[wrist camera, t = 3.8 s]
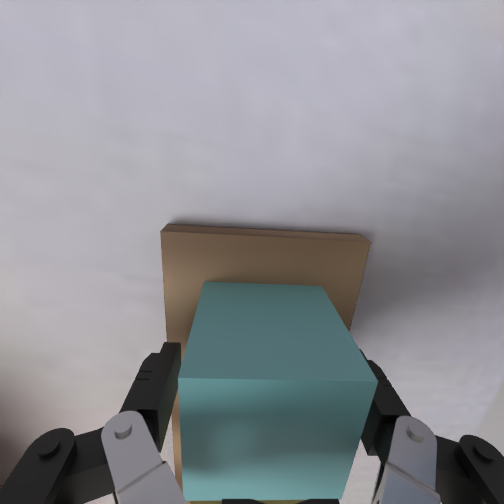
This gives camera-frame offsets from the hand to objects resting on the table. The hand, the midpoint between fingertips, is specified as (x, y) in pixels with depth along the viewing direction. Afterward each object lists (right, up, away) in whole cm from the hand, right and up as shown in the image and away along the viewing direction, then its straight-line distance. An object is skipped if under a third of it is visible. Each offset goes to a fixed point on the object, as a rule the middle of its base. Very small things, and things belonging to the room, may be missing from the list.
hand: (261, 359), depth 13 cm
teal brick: (0, +1, +1) cm, 2 cm away
